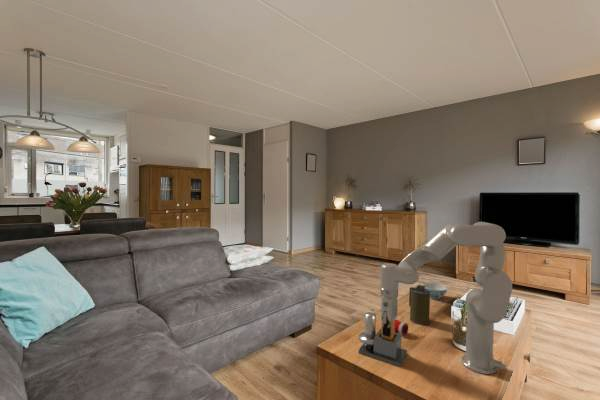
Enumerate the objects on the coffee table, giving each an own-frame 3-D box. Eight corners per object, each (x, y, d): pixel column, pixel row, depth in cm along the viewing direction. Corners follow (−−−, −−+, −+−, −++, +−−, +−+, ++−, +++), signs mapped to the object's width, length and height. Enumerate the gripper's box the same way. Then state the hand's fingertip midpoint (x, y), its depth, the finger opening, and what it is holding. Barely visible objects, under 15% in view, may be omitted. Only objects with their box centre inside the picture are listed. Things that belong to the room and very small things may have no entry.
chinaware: (429, 292, 209) (429, 281, 209) (450, 298, 198) (450, 287, 198) (418, 296, 200) (419, 285, 199) (440, 303, 188) (441, 291, 188)
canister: (432, 320, 162) (433, 285, 161) (425, 326, 154) (426, 290, 154) (413, 314, 169) (414, 281, 169) (405, 320, 162) (406, 285, 161)
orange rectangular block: (394, 339, 127) (395, 312, 127) (391, 344, 124) (392, 316, 123) (384, 336, 130) (384, 310, 129) (381, 340, 126) (381, 313, 126)
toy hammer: (380, 347, 133) (380, 334, 133) (361, 337, 143) (361, 324, 142) (408, 334, 147) (409, 321, 147) (389, 325, 156) (389, 313, 156)
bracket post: (406, 353, 128) (407, 318, 128) (400, 366, 118) (401, 328, 118) (363, 340, 139) (364, 307, 138) (354, 351, 129) (355, 316, 128)
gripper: (392, 299, 117) (391, 344, 117) (402, 288, 131) (401, 328, 132) (374, 296, 121) (373, 338, 121) (386, 285, 135) (385, 323, 136)
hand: (388, 332), depth 127 cm, fingers closed on orange rectangular block, 4 cm apart
